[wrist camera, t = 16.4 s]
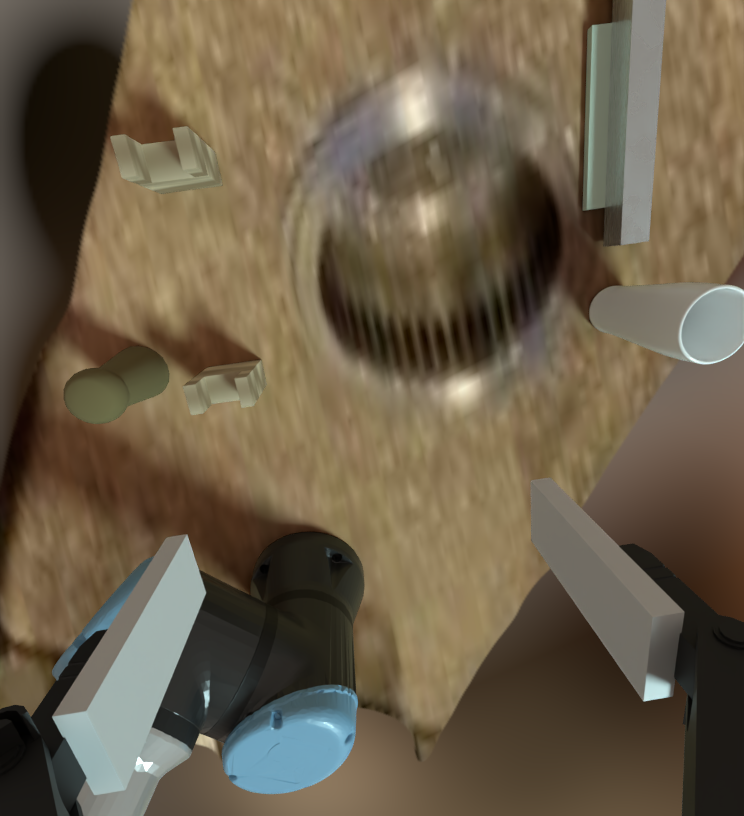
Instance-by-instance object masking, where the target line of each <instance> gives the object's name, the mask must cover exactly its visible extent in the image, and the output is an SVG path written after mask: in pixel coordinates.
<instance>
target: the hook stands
mask: <svg viewBox="0 0 744 816" xmlns="http://www.w3.org/2000/svg"><path fill="white" fill-rule="evenodd" d="M173 132H174V137H175V140H173V141H165V142H157V143H150V144H142V145H141V144H140V143H138V142H137V141H135V140H133V139H132V138H130V137H129V136H127V135H125V134H124V135H116V136H110V138H111V142H112V145H113V148H114V152H115V155H116V159H117V162H118V166H119V169H120V173H121V176H122V178H123V179H126V180H128V181H131V182H133V183H136V184H138V185H141V186H143V187H145V188H148V189H150V190H153V191H155V192H158V193H160V194H163V193H171V192H178V191H186V190H193V189H201V188H208V187H216V186H223V185H222V181H221V176H220V172H219V167H218V163H217V158H216V154H215V151H214V150H213V149H212V148H210V147H209V146H208V145H207V144H206V143H205V142H204V141H203V140H202V139H201V138H200V137H199V136H197V135H196V134H195V133H194V132H193V131H192V130H191V129H190V128H189V127H188V126H185V127H177V128H173ZM266 385H267V383H266V378H265V374H264V369H263V365H262V360H255V361H248V362H241V363H234V364H227V365H220V366H214V367H207V368H206V369H205V370H203V371H202V372H201V373H199V374H198V375H197V376H195V377H194V378H193V379H191V380H190V381H189V382H187V383H186V384H185V385H184V386H183V389H184V393H185V396H186V400H187V403H188V407H189V410H190V413H191V415H196V414H203V413H204V412H205V411H206V410H207V409H208V408H209V407H210V406H211V404H216V403H222V402H229V401H236V400H240V403H241V407H242V408H243V407H250V406H254V405H255V403H256V401H257V400H258V398H259V396H260V395H261V393H262V392H263V390H264V388H265V387H266Z"/></svg>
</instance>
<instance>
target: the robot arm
mask: <svg viewBox="0 0 744 816" xmlns="http://www.w3.org/2000/svg"><path fill="white" fill-rule="evenodd" d="M531 541H532V543H533V544H534V545H535V547H536V548H537V550H538V551H539V553H540V554H541V555H542V557H543V558H544V560H545V561H546V563H547V564H548V565H549V567H550V568H551V570H552V571H553V573H554V574H555V575H556V577H557V578H558V580H559V581H560V582H561V584H562V585H563V587H564V588H565V590H566V591H567V593H568V594H569V595H570V597H571V598H572V599H573V601H574V603H575V604H576V605H577V607H578V608H579V610H580V611H581V612H582V614H583V615H584V617H585V618H586V620H587V621H588V622H589V624H590V625H591V627H592V628H593V630H594V631H595V632H596V634H597V635H598V637H599V638H600V640H601V641H602V643H603V644H604V645H605V647H606V648H607V650H608V651H609V653H610V654H611V655H612V657H613V658H614V660H615V661H616V663H617V664H618V665H619V667H620V668H621V670H622V671H623V673H624V674H625V675H626V677H627V678H628V680H629V681H630V683H631V684H632V685H633V687H634V688H635V690H636V691H637V693H638V694H639V695H640V697H641V698H642V700H643V701H648V700H654V699H660V698H665V697H672V696H673V691H674V684H675V679H676V680H677V681H678V683H679V684H680V685H681V686H682V687H683V689H684V690H685V691H686V693H687V701H686V708H685V714H684V720H683V724H685V747H684V773H683V774H684V775H683V800H682V816H744V622H741V621H739V620H736V619H734V618H731V617H726V616H721V615H718V614H717V613H716V612H715V611H714V610H713V609H711V608H710V607H709V606H708V605H707V604H706V603H705V602H704V601H703V600H702V599H701V598H699V597H698V596H697V595H696V594H695V593H694V592H693V591H692V590H691V589H690V588H689V587H687V586H686V585H685V584H684V583H683V582H682V581H681V580H680V579H679V578H676V577H675V575H674V574H673V573H672V572H671V571H670V570H669V569H668V568H665V566H664V564H663V563H661V562H660V561H659V560H658V559H657V558H656V557H655V556H654V555H653V554H652V553H650V552H648V551H646V550H644V549H643V548H641V547H639V546H637V545H635V544H627V545H621V546H618V545H617V544H616V543H615V542H614V541H613V540H612V539H611V538H610V537H609V536H608V535H607V534H606V533H605V532H604V531H603V530H602V529H601V528H600V527H599V526H598V525H597V524H596V523H595V522H594V521H593V520H592V519H591V518H590V517H589V516H588V515H587V514H586V513H585V512H584V511H583V510H582V509H581V508H580V507H579V506H578V505H577V504H576V503H575V502H574V501H573V500H572V499H571V498H570V497H569V496H568V495H567V494H566V493H565V492H564V491H563V490H562V489H561V488H560V487H559V486H558V485H557V484H556V483H555V482H554V481H553V480H552V479H551V478H545V479H538V480H532V481H531ZM250 591H251V595H249V594H247V593H244V592H242V591H240V590H238V589H236V588H234V587H232V586H230V585H228V584H226V583H224V582H222V581H220V580H218V579H216V578H215V577H213V576H211V575H209V574H207V573H205V572H203V571H201V570H199V568H198V566H197V563H196V560H195V557H194V554H193V551H192V548H191V545H190V542H189V538H188V535H187V534H185V535H179V536H172V537H167V538H166V539H165V541H164V542H163V544H162V545H161V547H160V548H159V550H158V552H157V553H156V555H155V556H153V557H150V558H148V559H147V560H145V561H144V562H142V563H141V564H140V565H139V566H138V567H137V568H136V569H135V570H134V571H133V572H132V573H131V574H130V575H129V576H128V578H127V579H126V580H125V581H124V582H123V583H122V584H121V585H120V586H119V588H118V589H117V590H116V591H115V592H114V593H113V594H112V596H111V597H110V598H109V599H108V600H107V601H106V603H105V604H104V605H103V606H102V607H101V608H100V610H99V611H98V612H97V613H96V614H95V616H94V617H93V618H92V619H91V620H90V622H89V623H88V624H87V625H86V627H85V628H84V629H83V631H82V633H81V634H80V635H79V636H78V637H77V638H76V639H75V641H74V642H73V643H72V645H71V646H70V647H69V648H68V649H67V650H66V651H65V653H64V654H63V655H62V656H61V658H60V659H59V660H58V662H57V663H56V665H55V666H54V668H53V671H52V673H53V676H54V677H55V678H56V680H57V681H56V682H55V683H54V685H53V686H52V687H51V689H50V690H49V692H48V693H47V695H46V696H45V698H44V699H43V701H42V702H41V703H40V705H39V706H38V708H37V709H36V711H35V712H34V714H33V715H32V717H30V715H29V713H28V712H27V710H26V709H25V707H24V706H19V705H13V706H9V707H5V708H2V709H0V816H143V815H144V813H145V811H146V808H147V806H148V804H149V802H150V799H151V797H152V795H153V793H154V790H155V788H156V786H157V783H158V781H159V779H160V778H161V777H162V776H163V775H164V774H165V773H166V772H168V771H170V770H171V769H173V768H174V767H175V766H177V765H179V764H180V763H182V762H183V761H185V760H186V759H188V758H189V757H190V755H191V752H192V750H193V748H194V745H195V743H196V741H197V738H198V736H199V733H200V734H203V735H206V736H208V737H211V738H214V739H215V740H218V741H221V742H223V743H224V746H223V749H222V759H223V768H224V771H225V773H226V774H227V775H229V779H230V780H231V781H232V782H233V783H234V784H235V785H237V786H238V787H240V788H242V789H244V790H248V791H251V792H255V793H263V794H277V793H278V794H279V793H287V792H292V791H296V790H299V789H302V788H306V787H309V786H311V785H314V784H316V783H318V782H320V781H322V780H323V779H325V778H326V777H328V776H329V775H331V774H332V773H333V772H334V771H336V770H337V769H338V768H339V767H340V765H342V763H343V762H344V761H345V760H346V758H347V757H348V755H349V753H350V751H351V749H352V746H353V744H354V739H355V731H356V709H357V705H358V700H357V696H356V683H355V663H354V642H353V623H354V620H355V618H356V615H357V612H358V609H359V607H360V604H361V601H362V598H363V594H364V573H363V567H362V564H361V561H360V559H359V557H358V556H357V554H356V553H355V552H354V551H353V549H352V548H351V547H350V546H348V545H347V544H346V543H344V542H343V541H341V540H340V539H338V538H336V537H333V536H330V535H327V534H323V533H317V532H301V533H295V534H291V535H288V536H285V537H283V538H281V539H279V540H277V541H275V542H274V543H272V544H271V545H270V546H268V547H267V548H266V549H265V550H264V551H263V553H262V554H261V555H260V557H259V558H258V560H257V562H256V565H255V568H254V571H253V575H252V579H251V588H250Z"/></svg>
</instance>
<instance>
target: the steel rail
mask: <svg viewBox="0 0 744 816" xmlns="http://www.w3.org/2000/svg"><path fill="white" fill-rule="evenodd" d="M665 7H666V0H613V8H612V35H611V61H610V87H609V113H608V140H607V166H606V192H605V218H604V244H603V246H616V245H625V244H632V243H639V242H645V241H649V233H650V219H651V204H652V190H653V176H654V162H655V148H656V134H657V120H658V106H659V91H660V77H661V63H662V49H663V35H664V21H665Z"/></svg>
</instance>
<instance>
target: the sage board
mask: <svg viewBox="0 0 744 816" xmlns="http://www.w3.org/2000/svg"><path fill="white" fill-rule="evenodd" d="M611 35H612V23H606V24H598V25H592V26H591V27H590V28H589V29H588V33H587V69H586V105H585V141H584V177H583V211H585V210H592V209H599V208H605V192H606V166H607V140H608V113H609V87H610V61H611Z"/></svg>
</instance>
